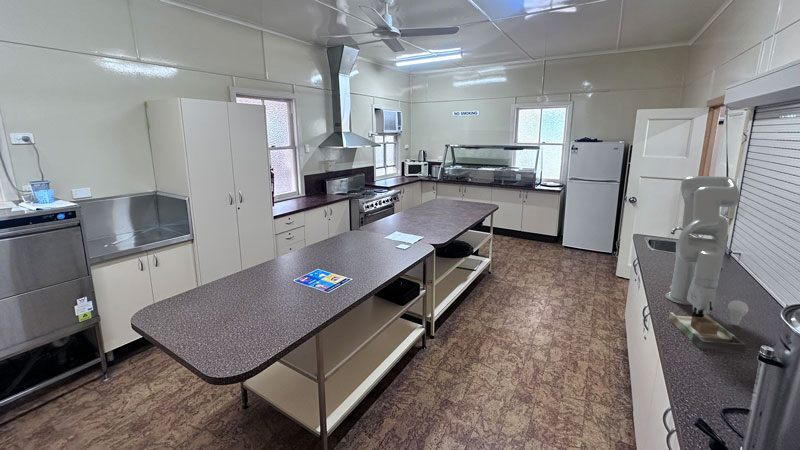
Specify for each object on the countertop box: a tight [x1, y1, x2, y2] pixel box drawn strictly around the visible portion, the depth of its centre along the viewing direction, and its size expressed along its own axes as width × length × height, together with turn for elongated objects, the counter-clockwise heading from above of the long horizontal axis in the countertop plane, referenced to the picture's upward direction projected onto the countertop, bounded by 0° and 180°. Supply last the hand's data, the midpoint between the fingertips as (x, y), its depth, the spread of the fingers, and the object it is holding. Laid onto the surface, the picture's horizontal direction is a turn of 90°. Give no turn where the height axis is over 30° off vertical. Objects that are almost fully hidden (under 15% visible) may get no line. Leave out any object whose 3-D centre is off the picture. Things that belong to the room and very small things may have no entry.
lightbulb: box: [727, 300, 749, 326], centre depth 146 cm, size 6×6×11 cm
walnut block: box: [691, 316, 719, 335], centre depth 140 cm, size 6×6×4 cm
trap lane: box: [668, 312, 748, 354], centre depth 140 cm, size 23×14×4 cm, turn 169°
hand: (696, 321), depth 145 cm, fingers closed
